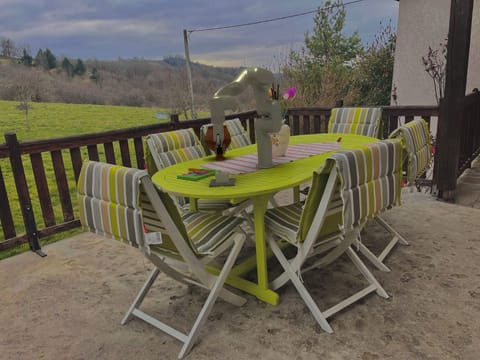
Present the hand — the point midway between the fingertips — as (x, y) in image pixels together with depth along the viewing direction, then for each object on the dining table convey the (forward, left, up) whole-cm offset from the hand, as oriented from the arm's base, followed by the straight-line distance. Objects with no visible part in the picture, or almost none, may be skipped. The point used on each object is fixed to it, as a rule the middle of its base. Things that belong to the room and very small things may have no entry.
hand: (220, 153), depth 202 cm
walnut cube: (0, 0, -1) cm, 1 cm away
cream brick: (0, 0, -16) cm, 16 cm away
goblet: (-70, -8, -17) cm, 73 cm away
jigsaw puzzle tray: (-24, -20, -18) cm, 36 cm away
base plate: (0, 0, -17) cm, 17 cm away
